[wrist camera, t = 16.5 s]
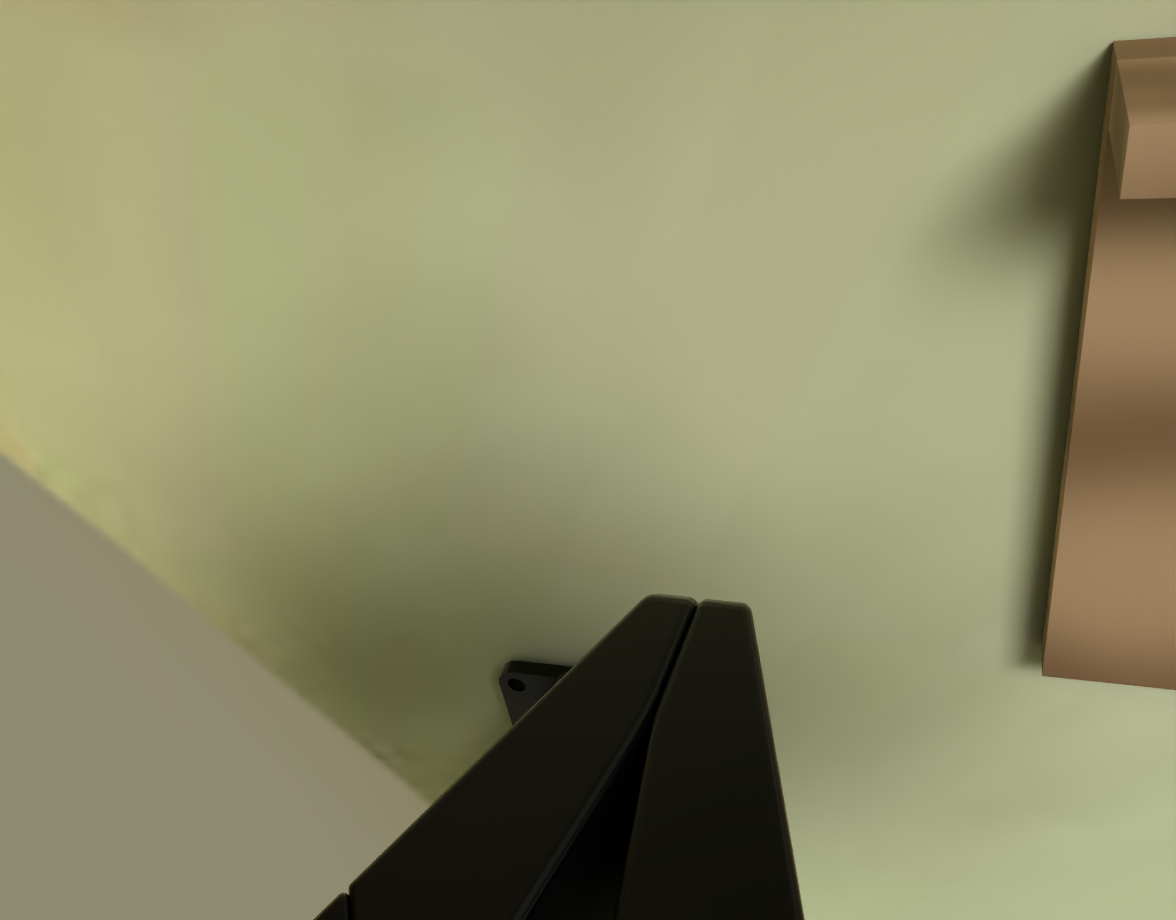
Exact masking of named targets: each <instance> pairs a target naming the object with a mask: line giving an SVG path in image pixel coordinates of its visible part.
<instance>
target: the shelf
mask: <svg viewBox="0 0 1176 920" xmlns="http://www.w3.org/2000/svg"><path fill="white" fill-rule="evenodd" d="M1042 676H1049V677H1058V678H1068V679H1077V680H1087V681H1096V682H1106V683H1115V684H1125V685H1134V686H1144V687H1153V688H1162V689H1172V690H1176V37H1170V38H1155V39H1140V40H1126V41H1113V48H1112V57H1111V65H1110V74H1109V82H1108V91H1107V99H1106V108H1105V116H1104V125H1103V133H1102V141H1101V150H1100V158H1099V167H1098V175H1097V184H1096V192H1095V201H1094V209H1093V218H1092V226H1091V234H1090V243H1089V251H1088V260H1087V268H1086V277H1085V285H1084V294H1083V302H1082V311H1081V319H1080V327H1079V336H1078V344H1077V353H1076V361H1075V370H1074V378H1073V387H1072V395H1071V404H1070V412H1069V420H1068V429H1067V437H1066V446H1065V454H1064V463H1063V471H1062V480H1061V488H1060V497H1059V505H1058V513H1057V522H1056V530H1055V539H1054V547H1053V556H1052V564H1051V573H1050V581H1049V590H1048V598H1047V606H1046V615H1045V623H1044V632H1043V640H1042Z"/></svg>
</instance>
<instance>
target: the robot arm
mask: <svg viewBox="0 0 1176 920" xmlns="http://www.w3.org/2000/svg"><path fill="white" fill-rule="evenodd" d="M499 683H500V686H501V690H502V693H503V696H504V699H505V702H506V705H507V709H508V712H509V715H510V718H511V721H512V725H513V726H512V727H511V728H510V729H509V730H508V731H507V732H506V733H505V734H504V735H503V736H502V737H501V738H500V739H499V740H498V741H497V742H496V743H495V744H494V745H493V746H492V747H491V748H489V749H488V750H487V751H486V752H485V753H484V754H483V755H482V756H481V757H480V758H479V759H478V760H477V761H476V762H475V763H474V764H473V765H472V766H471V767H470V768H469V769H468V770H467V771H466V772H465V773H464V774H463V775H462V776H461V777H460V778H459V779H458V780H457V781H456V782H455V783H454V784H453V785H452V786H451V787H450V788H448V789H447V790H446V791H445V792H444V793H443V794H442V795H441V796H440V797H439V798H438V799H437V800H436V801H435V802H434V803H433V804H432V805H431V806H430V807H429V808H428V809H427V810H426V811H425V812H424V813H423V814H422V815H421V816H420V817H419V818H418V819H417V820H416V821H415V822H414V823H413V824H412V825H411V826H410V827H409V828H407V830H405V832H403V833H402V834H401V835H400V836H399V837H398V838H397V839H396V840H395V841H394V842H393V843H392V844H391V845H390V846H389V847H388V848H387V849H386V850H385V851H384V852H383V853H382V854H381V855H380V856H379V857H378V858H377V859H376V860H375V861H374V862H373V863H372V864H371V865H370V866H369V867H368V868H366V869H365V870H364V871H363V872H362V874H360V875H359V876H358V877H357V878H356V879H355V880H354V881H353V882H352V883H351V884H350V886H349V895H348V894H346V893H341V894H339V895H338V897H336V898H335V899H334V900H333V901H332V902H331V903H330V904H329V905H328V906H327V907H326V908H325V909H324V910H323V911H322V912H321V913H320V914H319V915H318V916H317V917H316V918H315V919H314V920H805V919H804V913H803V907H802V902H801V896H800V890H799V884H798V878H797V872H796V867H795V861H794V855H793V849H792V843H791V837H790V832H789V826H788V820H787V814H786V808H785V802H784V797H783V791H782V785H781V779H780V773H779V767H778V762H777V756H776V750H775V744H774V738H773V732H772V727H771V721H770V715H769V709H768V703H767V697H766V692H765V686H764V680H763V674H762V668H761V662H760V657H759V651H758V645H757V639H756V633H755V627H754V622H753V616H752V611H751V608H750V607H749V606H748V605H747V604H745V603H739V602H730V601H720V600H710V599H706V600H703V601H702V602H700V603H699V604H698V602H697V601H696V600H695V599H693V598H691V597H682V596H672V595H662V594H651V595H649V596H647V597H645V598H644V599H642V600H641V601H640V602H639V603H638V604H637V605H636V606H635V607H634V608H633V609H632V610H631V611H630V612H629V613H628V614H627V615H626V616H625V617H624V618H623V619H622V620H621V621H620V622H619V623H618V624H617V625H616V626H615V627H613V628H612V629H611V630H610V631H609V632H608V633H607V634H606V635H605V636H604V637H603V638H602V639H601V640H600V641H599V642H598V643H597V644H596V645H595V646H594V647H593V648H592V649H591V650H590V651H589V652H588V653H587V654H586V655H585V656H584V657H583V658H582V659H581V660H580V661H579V662H578V663H577V664H576V665H575V666H574V667H564V666H556V665H547V664H539V663H530V662H522V661H511V662H509V663H507V664H506V665H505V667H504V669H503V671H502V673H501V675H500V678H499Z"/></svg>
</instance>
